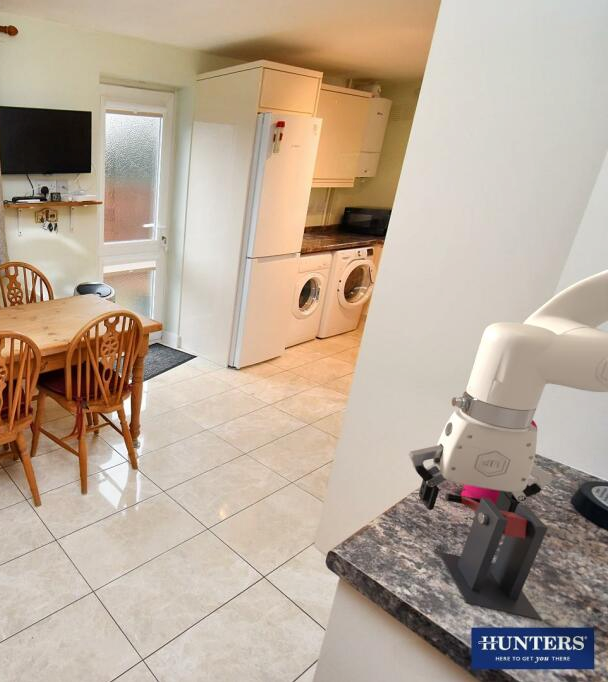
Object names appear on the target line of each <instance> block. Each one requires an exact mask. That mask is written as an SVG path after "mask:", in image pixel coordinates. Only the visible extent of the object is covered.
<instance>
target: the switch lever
mask: <svg viewBox="0 0 608 682" xmlns="http://www.w3.org/2000/svg"><path fill="white" fill-rule="evenodd" d="M444 500H445V501H447V502H451V503H455V504H461V505H463V506H465V507H467V508H469V509H471V510H473V511H474V512H475V513H476V512H477V509H478V506H479V503H480V500H481V499H478V498H472V497H467V496H461V495H460V494H455V493H451V492H450V493H449V492H446V493H445V494H444ZM500 512H501V513H502V514H503V515H504V517H505V518H506V519H507V520H508V521H507V524H506V527H505V529H504V532H503V534H502V535H505V536H506V535H509V536H515V537H520V538H525V534H526V524H527V519H525V518H523V517H521V516H519V515H516V514H514V513H511V512H506V511H501V510H500Z"/></svg>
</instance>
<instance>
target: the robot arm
mask: <svg viewBox="0 0 608 682" xmlns="http://www.w3.org/2000/svg"><path fill="white" fill-rule="evenodd" d="M606 322H608V269H605V270H603V271H601V272H598V273H596V274H592V275H591V276H588V277H586V278H583V279H581V280H579V281H577V282H575V283H573V284H572V285H570V286H568V287H566V288H565V289H563V290H562V291H560V292H559V293H557V294H556V295H554V296H553V297H552V298H550V299H549V300H548V301H547V302H546V303H544V304H543V305H542V306H540V307H539V308H538V309H537V310H535V311H534V312H533V313H532V314H531V315H530V316H528V317H527V318H526V319H525V321H523V322H514V321H513V322H512V321H501V322H494V323H491V324H489V325H488V326H487V327H486V328H485V329H484V331H483V334H482V336H481V340H480V342H479V347H478V349H477V352H476V356H475V360H474V363H473V366H472V370H471V372H470V376H469V379H468V383H467V386H466V390H465V391H463V394H462V396H459V397H454V396H453V397H452V399H451V406H452V407H455V408H456V409H455V410H454V411H453V412H452V414H451V415H450V417H449V419H448V421H447V422H446V424H445V426H444V428H443V430H442V433H441V434H440V437H439V439H438V441H437V445H434V446H429V447H424V448H420V449H415V450H412V451H409V453H408V456H409V459H410V461H411V463H412V467H413V469H414V470H415V472H416V473H417V474H418V475H419V476H420V478H421V479H422V481H421V484H420V488H419V491H418V497H419V500H420V501H422V503H423V505H424V507H425V508H426V509H427V510H430V511H432V510H434V509H435V506H436V502H437V499H438V495H439V492H440V488H439V487H438V485H439V484H442V483H443V482H445V481H448V482H449V483H454V484H458V485H462V486H463V485H469V486H475V487H481V488H487V489H493V490H499V491H500V493H499V496H498V499H497V502H496V504H495V506H496V507H497V508H498V509H499V510H501V511H506V512H511V513H515V510H516V508H517V505H518V504H521V503H525V502H527V500H528V498H529V497H531V496H534V495H536V494H539V493H541V491H542V488H545V487H546V486H549V484H550V483H552V482H553V481H554V476H552V474H550V473H549V472H548V471H547V470H545V469H543V468H542V467H540V466H538V465H537V464H535V463H534V462H535V458H536V452H537V443H538V427H537V428H536V427H535V426H533V425H532V424H531V422H532V420H534V417H535V414H536V412H537V408H538V406H539V403H540V400H541V397H542V395H543V392H544V389H545V386H546V385H548V384H549V385H550V384H551V385H557V386H562V387H567V388H571V389H575V390H580V391H586V392H592V393H593V392H594V393H608V331H604V330H602V329H600V328H598V327H599V326H601V325H602V324H604V323H606ZM457 408H458V409H457ZM428 460H432V462H433V464H431V465H430V466H427V467H425V465H424V462H425V461H428ZM531 475H532V476H531Z"/></svg>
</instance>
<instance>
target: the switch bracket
mask: <svg viewBox="0 0 608 682" xmlns="http://www.w3.org/2000/svg"><path fill="white" fill-rule="evenodd" d="M514 514H516V515H519V516H521V517H523V518H525V519H527V524H526V534H525V538H520V537H515V536H509V535H505V536H504V539H503V541H502V544H501V547H500V549H499V552H498V555H497V557H496V560H495V561H494V562H493V560H494V558H495V555H496V553H497V550H498V547H499V544H500V543H501V539H502V537H503V535H504V534H503V532H504V529H505V527H506V524H507V521H508V520H507V519H506V518H505V517H504V515H503V514H502V513H501V512H500V510H499V509H498V508H497V507H496V506H495V504H494V503H493V502H492V501H491V499H488V498H481V500H480V503H479V506H478V509H477V512H476V511H475V515H474V517H473V520H472V523H471V525H470V528H469V531H468V533H467V534H468V535H467V537H466V540H465V543H464V546H463V548H462V551H461V555H458V554H453V553H447V552H443V551H439V550H438V551H437V554H438V556H439V558H440V559H441V561H442V563H443V564H444V566H445V568H446V570H447V572H448V574H449V576H450V577H451V579H452V582H453V583H454V585H455V587H456V589H457V590H458V593H459V594H460V596H461V598H462V600H463V602H464V603H465V604H467V605H471V606H476V607H480V608H485V609H488V610H493V611H497V612H502V613H505V614H509V615H515V616H519V617H523V618H526V619H527V618H528V619H532V620H535V621H540V622H542V621H543V619H542V617H541V616H540V615H539V613H538V612H537V610H536V609H535V607H534V605H533V604H532V603H531V601H530V600H529V599H528V597H527V596H526V594H525V593H524V592H523V588H524V586H525V584H526V581H527V578H528V576H529V574H530V572H531V569H532V567H533V564H534V562H535V559H536V558H537V555H538V552H539V550H540V548H541V545H542V543H543V541H544V539H545V536H546V534H547V532H548V527H547V525H546V524H545V523H544V522H543V521H542V519H540V518H539V517H538V516H537V514H536V513H535V512H534V511H533V510H532V509H531V508H530V506H529V505H526V504H521V503H520V504H518V505H517V508H516V510H515V513H514Z"/></svg>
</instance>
